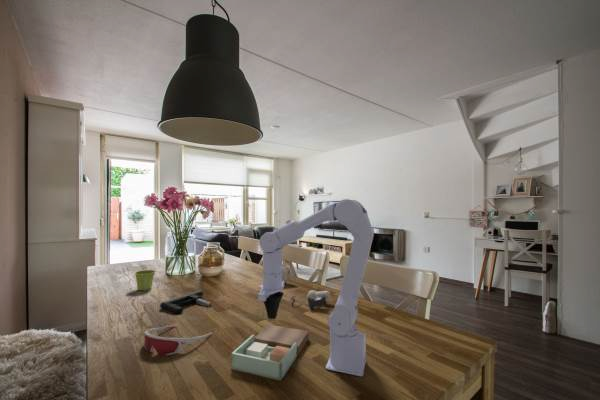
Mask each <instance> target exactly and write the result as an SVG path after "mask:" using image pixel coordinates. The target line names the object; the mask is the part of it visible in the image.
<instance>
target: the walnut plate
mask: <svg viewBox="0 0 600 400" xmlns="http://www.w3.org/2000/svg"><path fill="white" fill-rule="evenodd" d="M308 340H309V331H308V330H304V329H298V328H292V327H287V326H281V325H280V326H279V325H273V324H268V325H267V326H266V327H265V328H263V329H262V330H261V331H260V332H259V333H258V334H257V335H256V336H254V342H258V343H264V344H268V346H270V347H276V346H281V347H286V348H291V347H292V345H293V344H294V343H295V342H296V343H297V356H299V355H300V353H301V351H302V349H303V348H304V346H305V345H306V344H307V342H308Z"/></svg>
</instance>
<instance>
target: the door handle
mask: <svg viewBox="0 0 600 400" xmlns="http://www.w3.org/2000/svg"><path fill="white" fill-rule="evenodd" d="M203 295H204V293H203V290H196V291H193V292H190V293H187V294H183V295H181V296H178V297H174V298H171V299H168V300H165V301H162V302H160V304H159V307H160V309H161V310H165V311H167V312H171V313H173V314H175V315H179V314H182V313H183V311H184V308H186V307H189V306H191V305H195V304H198V305H200V306H203V307H206V308H209V307H212V302H211V301H208V300H206V299H203V298H201V297H202V296H203Z"/></svg>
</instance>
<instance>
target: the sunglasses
mask: <svg viewBox="0 0 600 400" xmlns="http://www.w3.org/2000/svg"><path fill="white" fill-rule="evenodd" d="M177 327H178V325H167V326H161V327H155V328H151V329H148V330H146V331H145V332H144V336H143V338H144V342H143V343H144V349H145V351H147V352H149V353H151V352H152V350H153V349H154V350H155V351H156V353H157V354H158V355H160V356H161V355H162V356H163V355H164V356H168V355H170V356H171V355H175V354H177V353H180V351H181V350H184V348H185V346H186V345H187V344H192V343H194V342H197V341H200V340H202V339H205V338H207V337H210V336H211V335H212V334H213V332H209V333H207V334H204V335H199V336H193V337H165V336H158V335H155V334H154V333H156V332H159V331H162V330H165V329H166V330H167V329H174V328H177Z"/></svg>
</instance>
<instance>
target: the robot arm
mask: <svg viewBox="0 0 600 400" xmlns="http://www.w3.org/2000/svg"><path fill="white" fill-rule="evenodd" d="M336 221H337V222H339V223H340V224H342V225H343V226H344V227H346V228H347V230H348V231H349V233H350V234H351V236H352V237H353V239H352V244H351V249H350V252H349V256H348V260H347V264H346V268H345V271H344V272H345V273H344V276H343V279H342V285H341V288H340V293H339V295H338V298H337V301H336V302H335V305H334V309H333V310H332V312H331V313H330V314H329V316H328V317H327V324H328V328H329V357H328V361H327V363H326V364H325V369H326V370H329V371H333V372H339V373H343V374H348V375H353V376H357V377H364V373H365V367H366V366H365V365H366V363H367V354H366V353H367V352H366V351H367V350H366V349H367V348H366V346H367V345H366V344H367V343H366V340H367V338H366V334H365V333H364V332H361V331H358V328H357V325H356V323H355V322H356V320H357V318H358V316H359V310H358V302H359V294H360V290H361V286H362V282H363V279H364V274H365V271H366V266H367V263H368V259H369V255H370V252H371V248H372V243H373V240H374V235H375V233H374V230H373V227H372V224H371V221H370V217H369V214H368V210H367V209H366V208H365V207H364V206H363V205H362V203H360V202H359V201H358V200H355V199H349V198H347V199H346V198H345V199H341V200H339V201H338V202H334V203H331V204H329V205H327V206H325V207H323V208H321V209H320V210H318V211H316V212H314V213H312V214H310V215H309V216H307V217H306V218H303V219H302V220H299V221H298V220H296V219H293V220H291V219H288V220H286V221H285V224H284V225H281V226H279V227H274V228H273V229H272V231H267V232H264V234H262V235H261V236H260V238H259V242H258V244H259V247H260V249H261V250H262V284H261V285H259V286H258V288H259V290H260V291H259V292H258V294H257V301H258V302H262V303H263V304H264V307H265V310H266V313H267V319H270V320H275V319H277V315H278V312H279V306H280V303H281V300H282V299H283V296H284V292H283V289H284V288H285V284H284V281H282V265H283V248H284V247H286V246H288V245H290V244H292V243H294V242H296V241H298V240H301V239H302V238H303V237H304V235H305V232H306V231H308V230H310V229H313V228H315V227H317V226H319V225H321V224H323V223H325V222H336Z"/></svg>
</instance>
